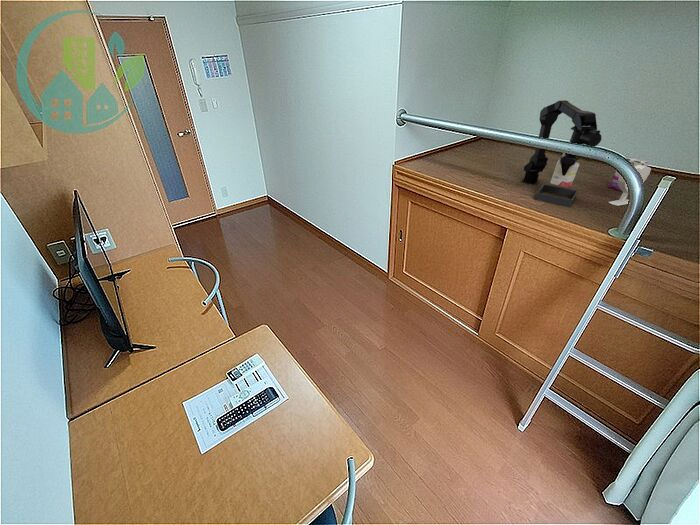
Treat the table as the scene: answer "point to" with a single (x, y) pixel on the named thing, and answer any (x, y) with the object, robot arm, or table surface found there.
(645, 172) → the heart sculpture
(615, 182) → the candy bar box
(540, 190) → the dark grey tray frame
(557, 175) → the ink box
